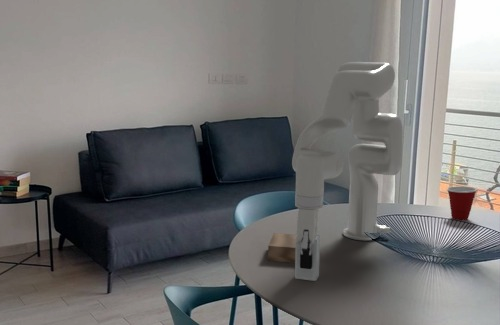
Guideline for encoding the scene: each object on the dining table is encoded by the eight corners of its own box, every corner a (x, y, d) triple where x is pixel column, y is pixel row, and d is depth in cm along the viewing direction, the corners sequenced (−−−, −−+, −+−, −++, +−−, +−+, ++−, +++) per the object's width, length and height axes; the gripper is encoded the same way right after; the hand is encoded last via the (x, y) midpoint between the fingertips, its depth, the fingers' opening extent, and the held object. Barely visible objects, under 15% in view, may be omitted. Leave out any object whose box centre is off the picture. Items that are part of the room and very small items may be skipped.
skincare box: (319, 276, 151) (320, 234, 148) (315, 281, 147) (317, 239, 144) (297, 273, 153) (299, 232, 150) (294, 278, 149) (295, 237, 146)
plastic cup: (452, 212, 215) (455, 183, 212) (479, 218, 207) (482, 188, 205) (438, 217, 207) (441, 187, 205) (466, 224, 200) (468, 192, 197)
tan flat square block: (310, 250, 171) (311, 235, 170) (308, 264, 160) (308, 248, 159) (273, 248, 173) (273, 233, 172) (268, 261, 162) (268, 245, 161)
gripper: (299, 192, 155) (297, 252, 158) (290, 207, 138) (289, 275, 142) (325, 193, 153) (323, 255, 156) (320, 209, 137) (317, 277, 140)
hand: (307, 263), depth 149 cm, fingers open, 4 cm apart
